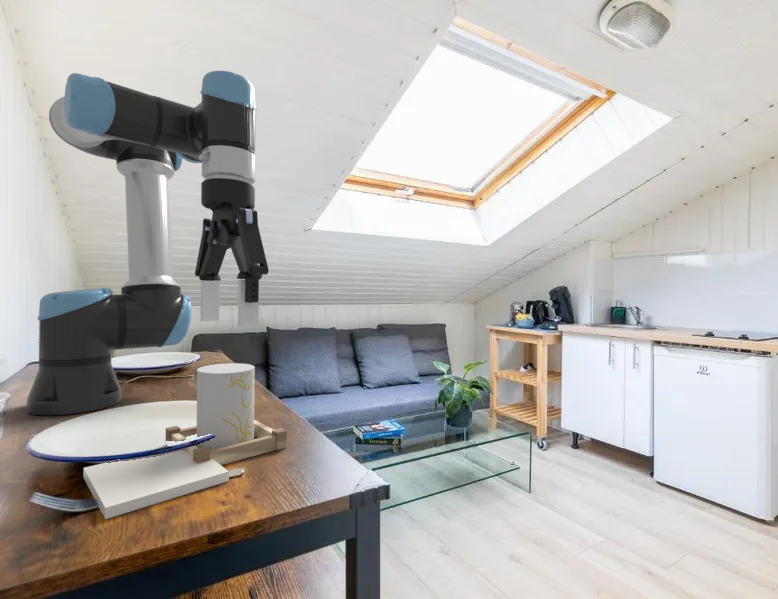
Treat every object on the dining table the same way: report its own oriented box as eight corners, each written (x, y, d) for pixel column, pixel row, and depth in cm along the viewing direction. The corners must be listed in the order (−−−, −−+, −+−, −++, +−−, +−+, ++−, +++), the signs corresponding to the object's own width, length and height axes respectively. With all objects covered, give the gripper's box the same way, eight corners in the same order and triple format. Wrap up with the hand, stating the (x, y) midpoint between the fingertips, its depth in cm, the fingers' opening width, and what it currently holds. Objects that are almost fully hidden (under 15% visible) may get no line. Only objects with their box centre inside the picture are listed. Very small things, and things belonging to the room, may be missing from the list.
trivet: (83, 477, 53) (83, 467, 53) (191, 450, 62) (191, 442, 62) (105, 519, 43) (105, 507, 43) (228, 480, 52) (228, 471, 52)
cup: (235, 459, 59) (235, 374, 59) (184, 454, 61) (184, 371, 60) (263, 439, 67) (264, 364, 67) (217, 435, 68) (218, 362, 68)
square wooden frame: (165, 444, 64) (165, 427, 64) (247, 426, 73) (247, 411, 73) (197, 472, 54) (197, 453, 54) (286, 447, 64) (286, 430, 64)
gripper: (174, 191, 69) (173, 319, 70) (241, 158, 51) (240, 330, 52) (219, 199, 74) (218, 318, 75) (295, 171, 57) (293, 327, 57)
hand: (227, 323), depth 63 cm, fingers open, 13 cm apart
